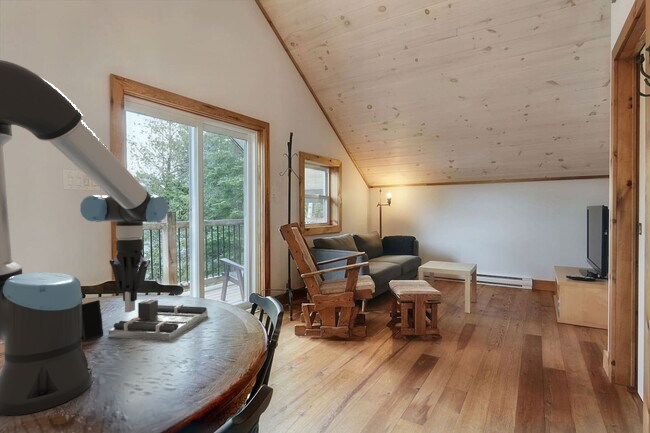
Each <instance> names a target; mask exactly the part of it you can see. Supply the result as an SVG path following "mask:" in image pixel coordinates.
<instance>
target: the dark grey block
mask: <svg viewBox="0 0 650 433" xmlns="http://www.w3.org/2000/svg"><path fill="white" fill-rule="evenodd" d="M158 305H159V300H158V299H152V298H150V299H145V300H143V301H140V302H138V303H137V314H138V315H137V316H138V319H151V318H153V317H155V316H158Z"/></svg>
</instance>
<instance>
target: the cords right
mask: <svg viewBox="0 0 650 433" xmlns="http://www.w3.org/2000/svg"><path fill="white" fill-rule="evenodd" d="M206 310H208V308H207V307H205V306H187V305H184V304H183V303H180V304H178V305H164V304H162V305H161V304H158V311H169V312H174V313H177V312H190V313H203V312H204V311H206Z"/></svg>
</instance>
